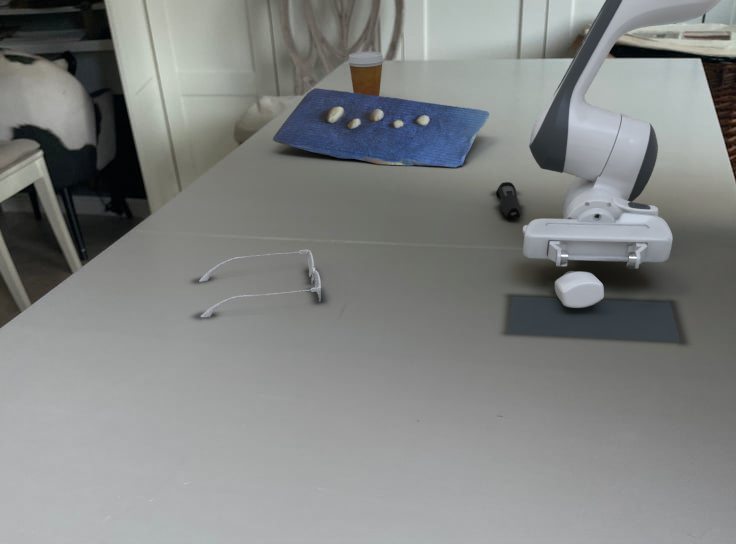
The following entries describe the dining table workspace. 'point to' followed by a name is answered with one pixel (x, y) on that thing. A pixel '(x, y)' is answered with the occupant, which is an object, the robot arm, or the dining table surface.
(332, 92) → the mat
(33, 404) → the dining table surface
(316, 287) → the eyeglasses
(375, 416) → the dining table surface
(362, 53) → the disposable coffee cup
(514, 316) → the mat
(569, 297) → the eye dropper bottle
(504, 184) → the electric trimmer
